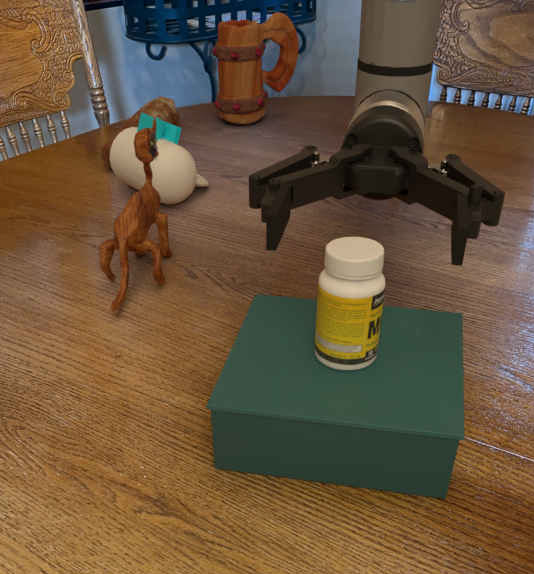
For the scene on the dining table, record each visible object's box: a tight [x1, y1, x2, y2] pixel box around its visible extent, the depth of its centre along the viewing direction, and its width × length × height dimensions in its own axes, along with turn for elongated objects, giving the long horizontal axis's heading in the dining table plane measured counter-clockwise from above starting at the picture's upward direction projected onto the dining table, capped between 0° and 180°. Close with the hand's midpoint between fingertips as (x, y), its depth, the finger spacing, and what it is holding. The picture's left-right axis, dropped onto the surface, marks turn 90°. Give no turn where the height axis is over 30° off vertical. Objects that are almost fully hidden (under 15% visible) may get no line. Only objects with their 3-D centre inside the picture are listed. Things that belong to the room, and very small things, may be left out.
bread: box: [100, 96, 181, 168], centre depth 104 cm, size 6×19×6 cm, turn 161°
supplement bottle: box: [315, 236, 386, 370], centre depth 50 cm, size 5×5×8 cm
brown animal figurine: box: [98, 118, 174, 312], centre depth 70 cm, size 18×7×14 cm, turn 172°
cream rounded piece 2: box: [110, 112, 209, 205], centre depth 91 cm, size 12×9×12 cm
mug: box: [211, 11, 300, 126], centre depth 113 cm, size 15×8×15 cm, turn 112°
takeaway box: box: [205, 293, 465, 500], centre depth 55 cm, size 18×16×6 cm
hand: (363, 240), depth 50 cm, fingers open, 13 cm apart
